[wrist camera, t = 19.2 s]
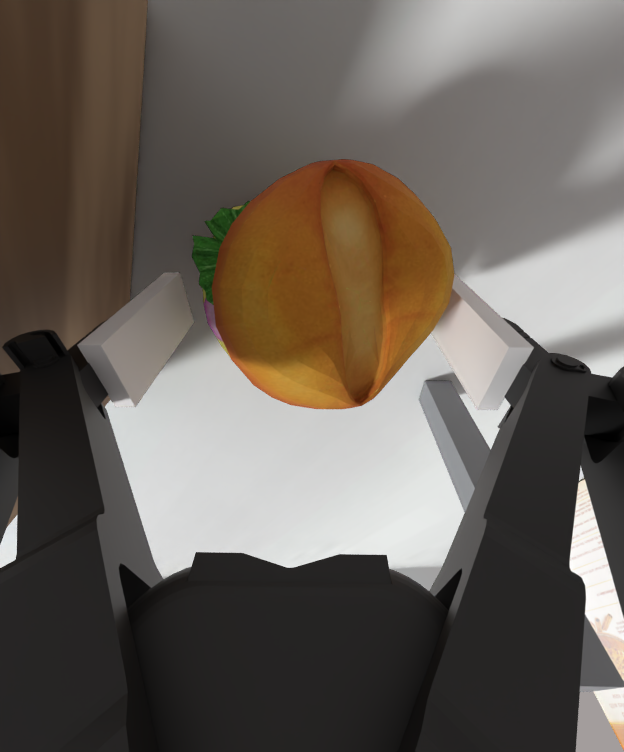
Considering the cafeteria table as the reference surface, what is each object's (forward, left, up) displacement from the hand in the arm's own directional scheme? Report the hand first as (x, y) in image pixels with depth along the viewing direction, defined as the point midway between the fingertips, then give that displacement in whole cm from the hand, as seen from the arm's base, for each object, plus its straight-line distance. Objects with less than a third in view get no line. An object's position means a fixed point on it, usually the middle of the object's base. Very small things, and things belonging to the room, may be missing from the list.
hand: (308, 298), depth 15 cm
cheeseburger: (+1, -1, -3) cm, 4 cm away
